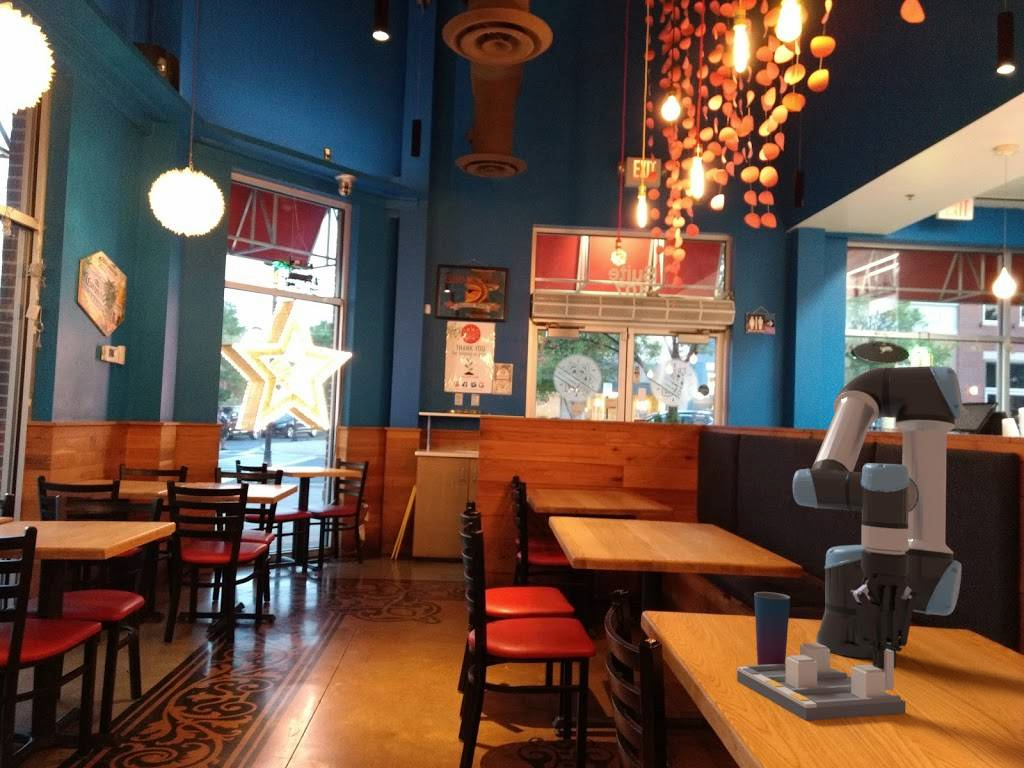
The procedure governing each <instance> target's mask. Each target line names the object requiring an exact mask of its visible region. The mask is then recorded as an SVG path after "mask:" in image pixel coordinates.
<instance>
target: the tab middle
mask: <svg viewBox="0 0 1024 768" xmlns="http://www.w3.org/2000/svg"><path fill="white" fill-rule="evenodd" d="M785 664H786V676H785V683H787V684H789V685H791V686H793V687H795V688H806V687H817V662H816V661H814V659H812V658H810V657H808V656H805V655H800V654H798V655H789V656H786V659H785Z"/></svg>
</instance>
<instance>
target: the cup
mask: <svg viewBox="0 0 1024 768" xmlns="http://www.w3.org/2000/svg"><path fill="white" fill-rule="evenodd" d="M753 598H754V615H755V616H754V617H755V618H754V620H755V638H756V639H755V640H756V656H757V657H756V658H757V661H756V662H757V665H768V664H786V657H787V642H788V631H789V619H790V618H789V614H790V604H791V603H790V602H791V596H790V595H787V594H784V593H780V592H779V593H778V592H769V591H757V592H754V597H753Z"/></svg>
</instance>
